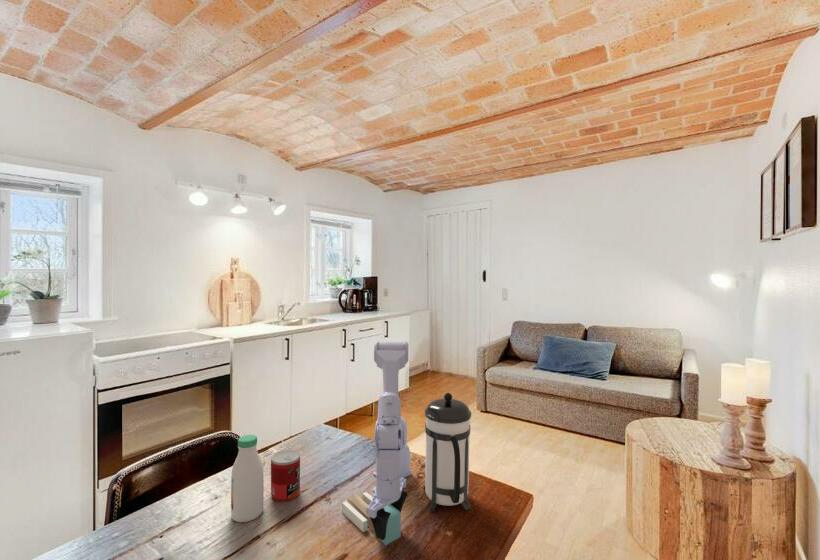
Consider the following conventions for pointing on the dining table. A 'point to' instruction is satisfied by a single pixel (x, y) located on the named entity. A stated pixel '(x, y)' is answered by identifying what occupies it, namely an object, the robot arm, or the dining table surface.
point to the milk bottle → (247, 481)
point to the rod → (360, 508)
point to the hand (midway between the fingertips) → (387, 529)
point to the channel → (354, 514)
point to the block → (392, 525)
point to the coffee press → (447, 452)
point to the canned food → (285, 475)
